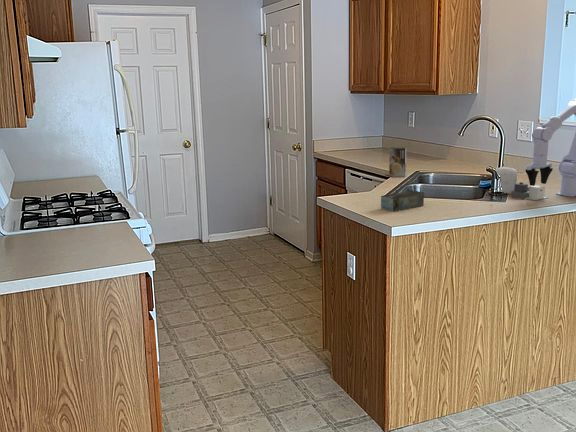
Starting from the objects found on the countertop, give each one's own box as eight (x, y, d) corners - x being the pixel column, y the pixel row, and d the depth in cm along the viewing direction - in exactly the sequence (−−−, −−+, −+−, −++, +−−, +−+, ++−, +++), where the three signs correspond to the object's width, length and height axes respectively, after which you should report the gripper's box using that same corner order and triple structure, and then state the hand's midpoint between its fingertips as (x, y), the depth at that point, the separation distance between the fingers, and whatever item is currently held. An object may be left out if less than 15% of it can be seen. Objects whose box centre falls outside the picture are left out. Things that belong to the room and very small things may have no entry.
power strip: (531, 193, 272) (532, 178, 271) (544, 195, 266) (545, 181, 265) (511, 196, 266) (512, 181, 264) (523, 198, 260) (524, 183, 258)
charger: (535, 196, 263) (536, 185, 262) (544, 197, 259) (545, 186, 258) (528, 197, 261) (529, 186, 260) (537, 198, 257) (538, 187, 256)
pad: (538, 196, 264) (538, 195, 264) (547, 198, 260) (547, 197, 260) (525, 198, 260) (525, 197, 260) (534, 200, 256) (534, 199, 256)
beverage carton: (379, 209, 244) (379, 194, 242) (410, 203, 254) (411, 188, 253) (393, 212, 237) (393, 196, 236) (424, 206, 248) (425, 191, 247)
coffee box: (406, 175, 328) (407, 147, 324) (405, 177, 322) (406, 148, 318) (390, 174, 330) (390, 147, 327) (388, 176, 324) (389, 148, 321)
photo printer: (516, 193, 273) (518, 167, 270) (514, 194, 269) (516, 168, 266) (493, 191, 278) (495, 166, 275) (492, 192, 274) (493, 167, 271)
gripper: (543, 152, 262) (541, 181, 265) (521, 154, 256) (519, 184, 259) (557, 153, 256) (554, 183, 259) (535, 156, 250) (532, 187, 253)
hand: (537, 184), depth 259 cm, fingers open, 7 cm apart
